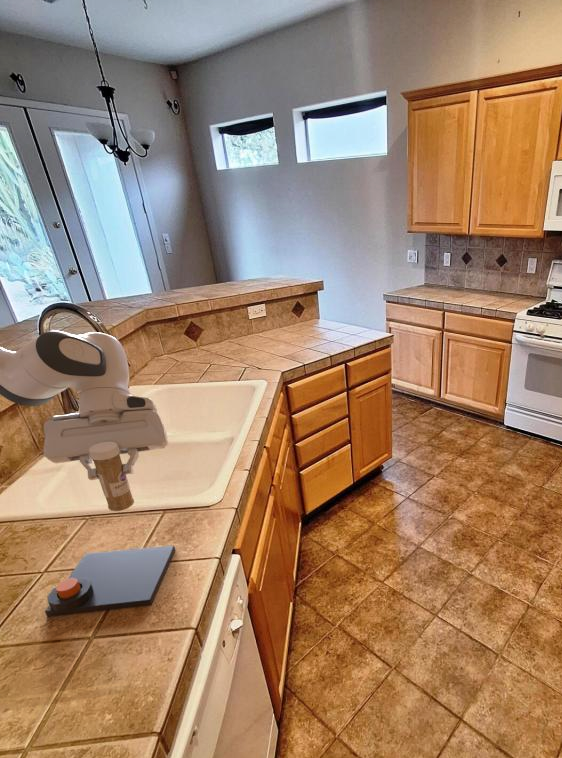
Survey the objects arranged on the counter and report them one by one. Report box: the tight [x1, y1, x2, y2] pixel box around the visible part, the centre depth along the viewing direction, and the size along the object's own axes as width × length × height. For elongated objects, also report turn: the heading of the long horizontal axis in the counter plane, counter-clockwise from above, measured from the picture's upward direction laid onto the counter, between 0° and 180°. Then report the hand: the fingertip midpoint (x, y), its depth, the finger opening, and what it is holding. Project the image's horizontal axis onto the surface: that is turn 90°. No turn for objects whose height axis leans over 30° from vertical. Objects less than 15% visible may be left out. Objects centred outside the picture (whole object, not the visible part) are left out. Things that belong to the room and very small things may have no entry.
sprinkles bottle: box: [89, 441, 135, 512], centre depth 83 cm, size 5×5×14 cm
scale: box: [44, 545, 177, 618], centre depth 77 cm, size 16×14×3 cm
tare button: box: [55, 577, 81, 599], centre depth 72 cm, size 3×3×2 cm
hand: (111, 476), depth 82 cm, fingers closed on sprinkles bottle, 4 cm apart
